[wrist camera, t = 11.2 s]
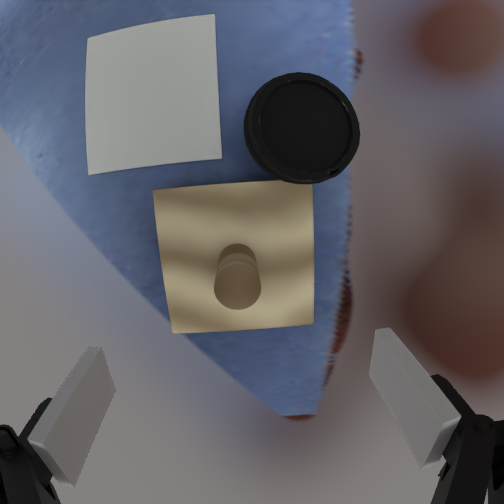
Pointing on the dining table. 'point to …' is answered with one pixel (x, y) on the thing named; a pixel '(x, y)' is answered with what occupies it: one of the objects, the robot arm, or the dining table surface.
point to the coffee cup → (301, 128)
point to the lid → (237, 255)
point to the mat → (152, 95)
